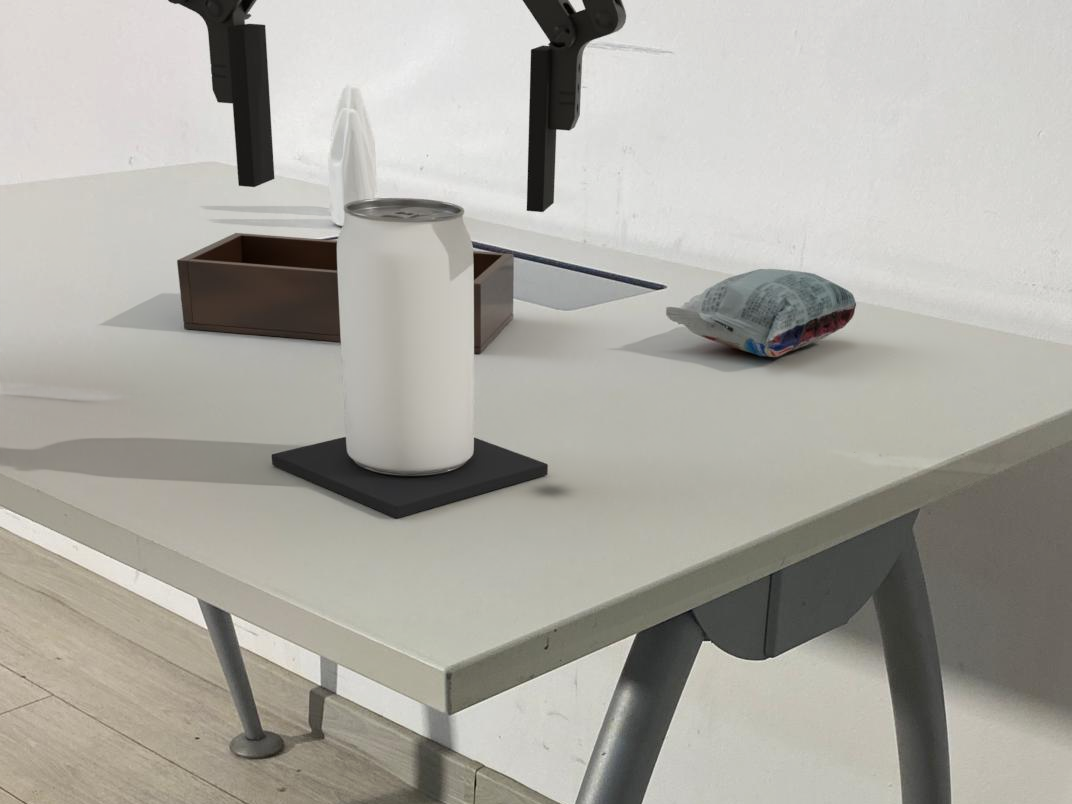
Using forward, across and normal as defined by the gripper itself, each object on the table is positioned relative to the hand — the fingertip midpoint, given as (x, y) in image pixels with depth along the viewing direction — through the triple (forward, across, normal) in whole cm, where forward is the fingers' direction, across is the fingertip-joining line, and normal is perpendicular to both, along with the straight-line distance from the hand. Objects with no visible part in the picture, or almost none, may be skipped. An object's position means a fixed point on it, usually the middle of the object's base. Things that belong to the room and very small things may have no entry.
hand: (397, 195), depth 67 cm
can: (+13, 0, 0) cm, 13 cm away
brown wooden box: (+13, +12, -29) cm, 34 cm away
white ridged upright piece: (+14, +24, -68) cm, 73 cm away
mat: (+13, 0, 0) cm, 13 cm away
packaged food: (+13, -16, -32) cm, 38 cm away
